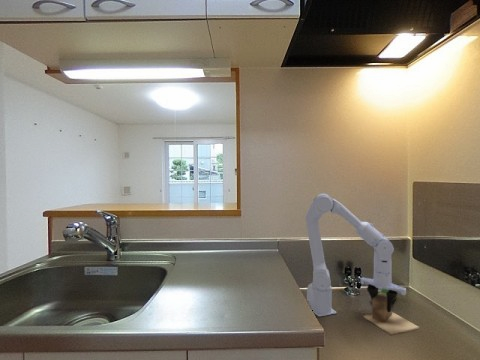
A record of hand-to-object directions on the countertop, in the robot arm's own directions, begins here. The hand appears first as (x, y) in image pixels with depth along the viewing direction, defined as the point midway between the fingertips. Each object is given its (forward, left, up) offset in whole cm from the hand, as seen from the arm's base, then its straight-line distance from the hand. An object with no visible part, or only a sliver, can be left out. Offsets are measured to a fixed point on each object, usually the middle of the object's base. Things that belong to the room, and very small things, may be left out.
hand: (382, 308), depth 99 cm
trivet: (+3, 0, -3) cm, 5 cm away
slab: (0, 0, -3) cm, 3 cm away
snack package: (-10, +12, -4) cm, 16 cm away
